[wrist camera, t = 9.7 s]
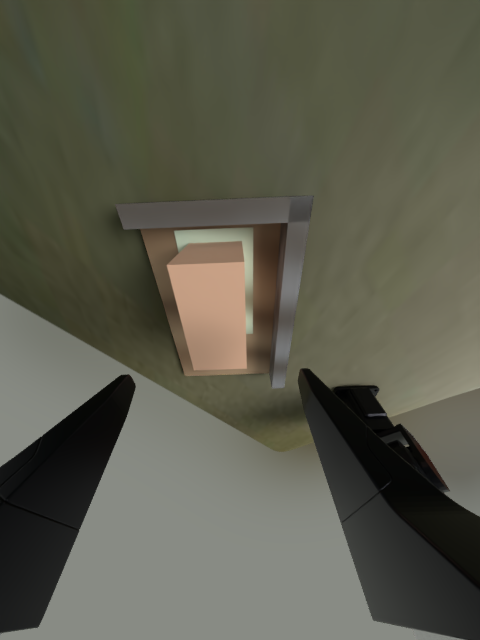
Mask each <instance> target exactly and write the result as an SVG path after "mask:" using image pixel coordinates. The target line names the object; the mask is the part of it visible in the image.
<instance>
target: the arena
mask: <svg viewBox="0 0 480 640" xmlns="http://www.w3.org/2000/svg"><path fill="white" fill-rule="evenodd" d="M313 197H314V196H286V197H263V198H240V199H217V200H194V201H171V202H148V203H128V204H115V206H116V209H117V211H118V214H119V217H120V220H121V223H122V226H123V229H124V230H126V229H140V230H141V233H142V237H143V240H144V243H145V246H146V250H147V253H148V256H149V260H150V263H151V266H152V269H153V273H154V276H155V279H156V282H157V286H158V289H159V292H160V295H161V299H162V302H163V305H164V309H165V312H166V315H167V318H168V322H169V325H170V328H171V331H172V335H173V338H174V341H175V345H176V348H177V351H178V354H179V358H180V361H181V364H182V367H183V371H184V374H185V376H202V375H230V374H258V373H269V375H270V380H271V386H272V388H284V384H285V378H286V371H287V365H288V359H289V352H290V346H291V339H292V333H293V326H294V320H295V313H296V307H297V300H298V294H299V288H300V281H301V275H302V268H303V262H304V255H305V249H306V242H307V236H308V230H309V223H310V217H311V210H312V204H313ZM233 241H242V245H243V254H244V264H245V310H246V355H247V369H223V370H195V371H194V369H193V365H192V361H191V357H190V354H189V350H188V346H187V342H186V338H185V334H184V330H183V326H182V323H181V319H180V315H179V311H178V307H177V303H176V299H175V295H174V292H173V288H172V284H171V280H170V276H169V272H168V268H167V264H168V263H169V262H170V261H171V260H172V259H173V258H174V257H175V256H176V255H178V254H179V253H180V252H181V251H182V250H183V249H184V248H185V247H186V246H187V245H188V244H189V243H208V242H233Z"/></svg>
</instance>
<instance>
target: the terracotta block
mask: <svg viewBox="0 0 480 640" xmlns="http://www.w3.org/2000/svg"><path fill="white" fill-rule="evenodd" d="M167 268H168V272H169V276H170V280H171V284H172V288H173V292H174V295H175V299H176V303H177V307H178V311H179V315H180V319H181V323H182V326H183V330H184V334H185V338H186V342H187V346H188V350H189V354H190V357H191V361H192V365H193V369H194V371H195V370H223V369H247V355H246V310H245V264H244V254H243V245H242V241H233V242H208V243H189V244H188V245H187V246H186V247H185V248H184V249H183V250H182V251H181V252H180V253H179V254H178V255H176V256H175V257H174V258H173V259H172V260H171V261H170V262H169V263H168V264H167Z"/></svg>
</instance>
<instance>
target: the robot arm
mask: <svg viewBox="0 0 480 640" xmlns="http://www.w3.org/2000/svg"><path fill="white" fill-rule="evenodd" d="M298 384H299V389H300V393H301V398H302V403H303V408H304V412H305V415H306V418H307V421H308V424H309V427H310V430H311V433H312V437H313V440H314V443H315V446H316V449H317V452H318V455H319V458H320V461H321V464H322V467H323V470H324V473H325V476H326V479H327V482H328V485H329V488H330V491H331V494H332V497H333V500H334V503H335V506H336V509H337V513H338V516H339V519H340V522H341V525H342V528H343V531H344V534H345V537H346V540H347V543H348V546H349V549H350V552H351V555H352V558H353V562H354V564H355V568H356V571H357V574H358V577H359V580H360V582H361V586H362V589H363V592H364V595H365V598H366V601H367V604H368V607H369V610H370V613H371V616H372V618H373V620H374V621H377V622H383V623H387V624H392V625H397V626H401V627H406V628H411V629H412V631H413V633H414V636H415V638H416V640H480V517H479V516H477V515H475V514H474V513H472V512H470V511H468V510H466V509H465V508H464V507H462V506H460V505H459V504H457V503H456V502H454V501H453V500H452V499H450V498H449V497H448V496H446V495H445V494H444V492H449V491H450V490H449V488H448V487H447V485H446V483H445V482H444V480H443V479H442V477H441V475H440V474H439V473H438V471H437V469H436V468H435V466H434V464H433V463H432V462H431V460H430V458H429V456H428V455H427V454H426V452H425V451H424V450H423V449H422V447H421V446H420V444H419V443H418V442H417V441H416V439H415V438H414V437H413V435H412V434H411V433H410V432H409V431H408V430H407V429H406V428H405V427H404V426H403V425H401V424H398V425H396V426H395V427H394V425H393V424H392V422H391V421H390V420H389V418H388V417H387V413H386V412H385V410H384V409H383V408H382V406H381V405H380V403H379V402H378V400H377V399H376V397H375V396H376V395H377V393H378V392H379V388H378V387H377V386H363V387H338V388H335V390H334V392H332V391H331V390H330V389H329V388H328V387H327V386H326V385H325V384H324V383H323V382H322V381H321V380H320V379H319V378H318V377H317V376H316V375H315V374H314V373H313V372H312V371H311V370H310V369H308V368H303V369H300V372H299V377H298ZM135 387H136V386H135V383H134V381H133V379H132V377H131V376H130V375H121V376H119V377H118V378H116V379H115V380H114V381H112V382H111V383H110V384H109V385H107V386H106V387H105V388H103V389H102V390H101V391H100V392H98V393H97V394H96V395H94V396H93V397H92V398H91V399H89V400H88V401H87V402H85V403H84V404H83V405H82V406H80V407H79V408H78V409H76V410H75V411H74V412H72V413H71V414H70V415H68V416H67V417H66V418H65V419H63V420H62V421H61V422H60V423H58V424H57V425H55V426H54V427H53V428H52V429H50V430H49V431H48V432H46V433H45V434H44V435H43V436H42V437H40V438H39V439H37V440H36V441H35V442H33V443H32V444H31V445H30V446H28V447H27V448H26V449H24V450H23V451H22V452H20V453H19V454H18V455H16V456H15V457H14V458H12V459H11V460H9V461H8V462H7V463H5V464H4V465H2V466H1V467H0V635H1V634H2V633H4V632H11V631H18V630H24V629H31V628H38V627H39V625H40V623H41V620H42V618H43V616H44V614H45V611H46V609H47V607H48V604H49V602H50V600H51V597H52V595H53V592H54V590H55V588H56V585H57V583H58V580H59V578H60V576H61V573H62V571H63V569H64V566H65V563H66V561H67V559H68V557H69V554H70V552H71V549H72V547H73V545H74V542H75V540H76V537H77V535H78V533H79V529H80V527H81V525H82V522H83V520H84V518H85V516H86V513H87V511H88V508H89V506H90V504H91V501H92V499H93V496H94V494H95V492H96V489H97V487H98V484H99V482H100V480H101V477H102V475H103V472H104V470H105V468H106V465H107V463H108V460H109V458H110V456H111V453H112V451H113V448H114V446H115V443H116V441H117V439H118V436H119V434H120V432H121V429H122V427H123V424H124V422H125V419H126V417H127V414H128V411H129V407H130V404H131V401H132V398H133V394H134V391H135ZM406 444H409V447H405V446H404V445H406Z"/></svg>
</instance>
